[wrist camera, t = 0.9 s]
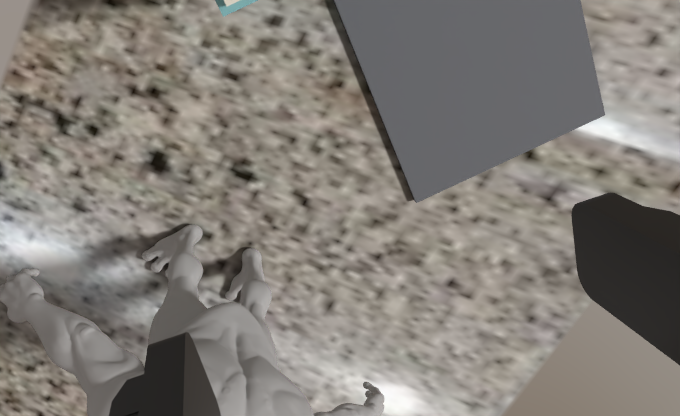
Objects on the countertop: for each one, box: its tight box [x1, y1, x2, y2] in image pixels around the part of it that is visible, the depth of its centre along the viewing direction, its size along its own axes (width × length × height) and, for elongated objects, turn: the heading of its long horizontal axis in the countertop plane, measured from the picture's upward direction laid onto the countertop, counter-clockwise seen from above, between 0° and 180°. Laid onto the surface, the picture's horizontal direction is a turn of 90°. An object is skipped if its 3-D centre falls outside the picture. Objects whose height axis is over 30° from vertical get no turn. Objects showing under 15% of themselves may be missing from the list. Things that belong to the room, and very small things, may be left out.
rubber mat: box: [333, 0, 605, 203], centre depth 31 cm, size 18×12×1 cm, turn 23°
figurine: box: [0, 225, 384, 416], centre depth 26 cm, size 18×7×18 cm, turn 61°
